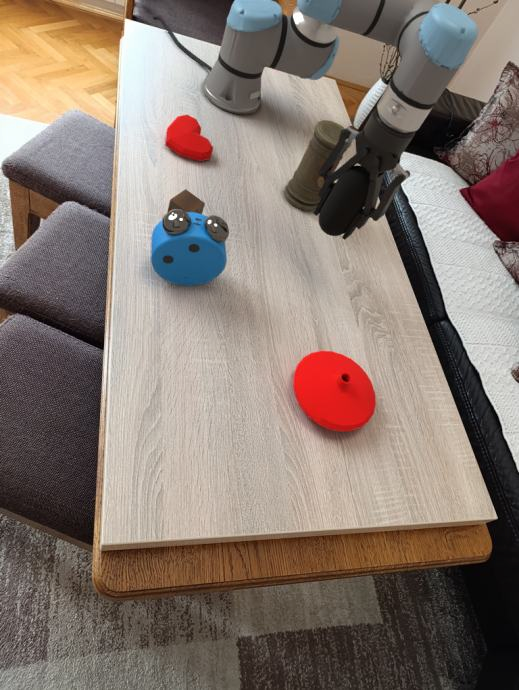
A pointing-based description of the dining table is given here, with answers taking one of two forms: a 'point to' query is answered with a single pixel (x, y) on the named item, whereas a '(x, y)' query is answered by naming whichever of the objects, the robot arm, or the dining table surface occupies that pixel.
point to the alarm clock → (189, 247)
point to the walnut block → (186, 203)
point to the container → (313, 166)
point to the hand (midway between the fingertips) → (332, 223)
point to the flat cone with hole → (334, 391)
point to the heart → (188, 139)
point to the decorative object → (344, 201)
